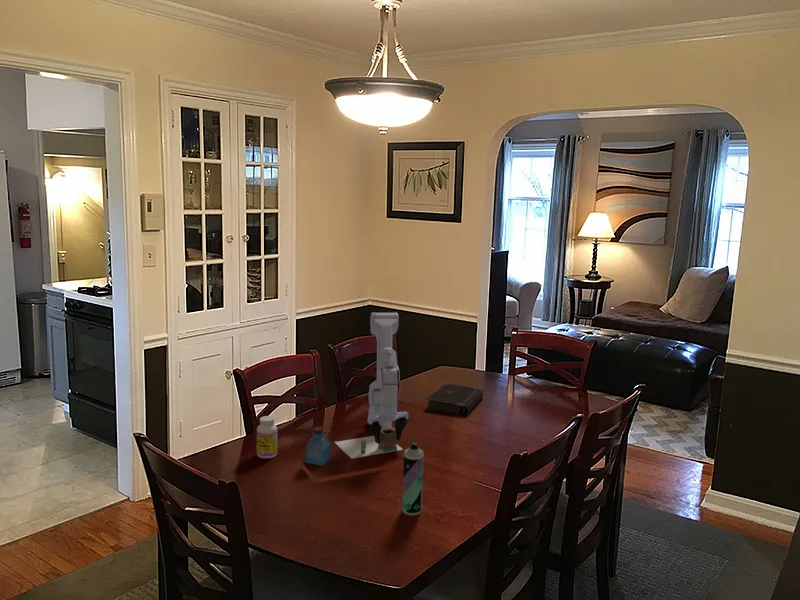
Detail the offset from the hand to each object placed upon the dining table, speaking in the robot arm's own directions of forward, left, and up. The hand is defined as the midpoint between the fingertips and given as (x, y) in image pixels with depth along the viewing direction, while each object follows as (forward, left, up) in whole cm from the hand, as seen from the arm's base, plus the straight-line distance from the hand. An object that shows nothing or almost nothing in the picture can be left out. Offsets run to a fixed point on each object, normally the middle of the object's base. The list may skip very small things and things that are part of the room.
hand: (387, 440), depth 230 cm
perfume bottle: (0, -25, -4) cm, 25 cm away
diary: (-34, +48, -5) cm, 59 cm away
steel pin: (0, -9, -3) cm, 9 cm away
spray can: (+40, -12, -4) cm, 42 cm away
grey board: (-4, -5, -4) cm, 8 cm away
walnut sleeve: (0, 0, -3) cm, 3 cm away
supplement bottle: (-13, -38, -4) cm, 40 cm away
